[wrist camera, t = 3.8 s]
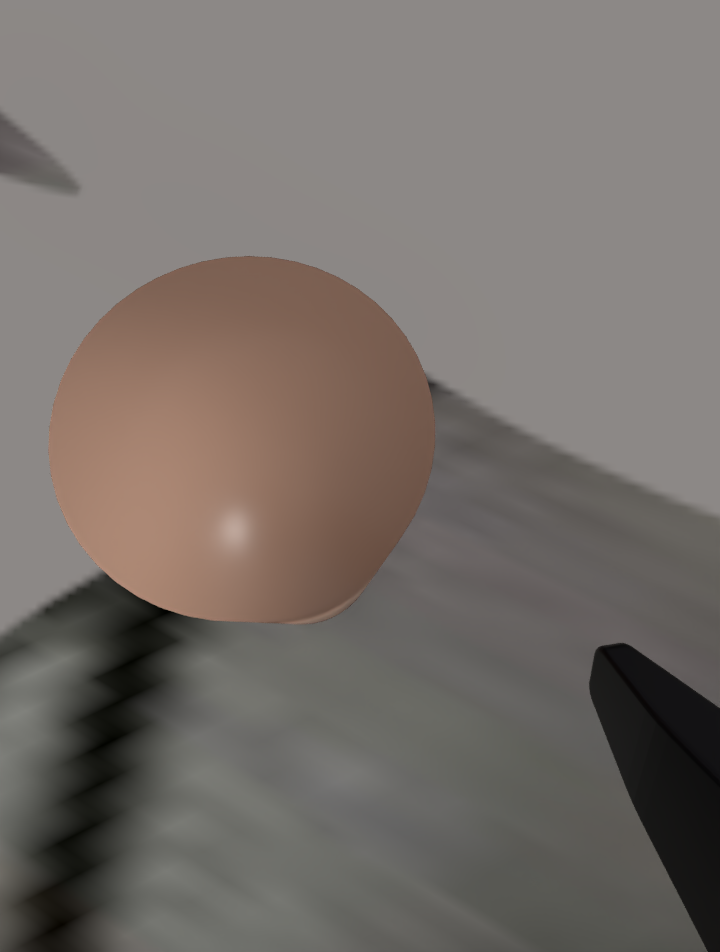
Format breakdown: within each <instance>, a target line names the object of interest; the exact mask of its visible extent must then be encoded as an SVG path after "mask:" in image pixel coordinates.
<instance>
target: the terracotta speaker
mask: <svg viewBox="0 0 720 952" xmlns="http://www.w3.org/2000/svg"><path fill="white" fill-rule="evenodd" d="M434 448H435V418H434V410H433V402H432V397H431V393H430V389H429V386H428V382H427V378H426V375H425V373H424V371H423V368H422V366H421V364H420V361H419V359H418V356H417V355H416V353H415V351H414V349H413V348H412V346H411V345H410V343H409V341H408V339H407V338H406V336H405V335H404V334H403V332H402V331H401V330H400V328H399V327H398V326H397V325H396V323H395V322H394V321H393V319H392V318H391V317H390V316H389V315H388V314H387V313H386V312H385V311H384V310H383V309H382V308H381V307H380V306H379V305H378V304H377V303H376V302H374V301H373V300H372V299H370V298H369V297H368V296H366V295H365V294H364V293H362V292H361V291H360V290H359V289H357V288H356V287H354V286H352V285H350V284H349V283H347V282H345V281H344V280H342V279H340V278H338V277H336V276H334V275H332V274H329V273H327V272H325V271H322V270H320V269H318V268H315V267H311V266H308V265H305V264H301V263H298V262H295V261H289V260H283V259H277V258H271V257H252V256H244V257H228V258H221V259H214V260H209V261H203V262H199V263H196V264H192V265H189V266H186V267H182V268H179V269H177V270H174V271H172V272H170V273H167V274H165V275H162V276H160V277H158V278H156V279H154V280H152V281H151V282H149V283H147V284H145V285H143V286H142V287H140V288H138V289H136V290H135V291H134V292H133V293H131V294H130V295H128V296H127V297H126V298H124V299H123V300H122V301H120V302H119V303H118V304H116V305H115V306H114V307H113V308H112V309H111V310H110V311H109V312H108V313H107V314H106V315H105V316H104V317H102V318H101V319H100V320H99V322H98V323H97V324H96V325H95V326H94V327H93V329H92V330H91V331H90V332H89V333H88V335H87V336H86V337H85V338H84V340H83V341H82V343H81V345H80V346H79V348H78V349H77V351H76V352H75V354H74V355H73V357H72V358H71V361H70V363H69V365H68V367H67V369H66V371H65V373H64V375H63V378H62V380H61V382H60V385H59V388H58V392H57V395H56V398H55V401H54V404H53V410H52V416H51V422H50V428H49V459H50V469H51V477H52V481H53V485H54V488H55V493H56V497H57V500H58V503H59V505H60V507H61V510H62V512H63V515H64V517H65V519H66V522H67V524H68V525H69V527H70V529H71V530H72V532H73V533H74V535H75V537H76V539H77V540H78V542H79V544H80V545H81V546H82V547H83V549H84V550H85V551H86V552H87V553H88V555H89V556H90V557H91V558H92V560H93V561H94V562H95V563H96V564H97V565H98V566H99V567H100V568H101V569H102V570H103V571H104V572H105V573H107V574H108V575H109V576H110V577H111V578H112V579H113V580H114V581H115V582H117V583H118V584H120V585H121V586H123V587H124V588H126V589H127V590H129V591H130V592H132V593H133V594H135V595H136V596H138V597H140V598H142V599H144V600H146V601H148V602H150V603H152V604H154V605H156V606H158V607H161V608H163V609H167V610H170V611H173V612H176V613H179V614H182V615H185V616H190V617H195V618H201V619H207V620H212V621H233V622H257V623H281V624H313V623H317V622H322V621H325V620H327V619H330V618H332V617H334V616H336V615H338V614H340V613H341V612H343V611H344V610H346V609H347V608H348V607H349V606H351V605H352V604H353V603H354V602H355V601H356V600H357V598H358V597H359V596H360V595H361V594H362V592H363V591H364V589H365V588H366V587H367V585H368V584H369V582H370V581H371V579H372V578H373V577H374V575H375V574H376V572H377V571H378V570H379V568H380V567H381V565H382V564H383V562H384V561H385V560H386V558H387V557H388V555H389V554H390V552H391V551H392V550H393V548H394V547H395V545H396V544H397V543H398V541H399V540H400V538H401V537H402V535H403V534H404V532H405V530H406V529H407V527H408V525H409V524H410V522H411V521H412V519H413V517H414V516H415V513H416V511H417V509H418V507H419V504H420V502H421V500H422V498H423V495H424V493H425V490H426V486H427V483H428V479H429V476H430V473H431V469H432V462H433V455H434Z"/></svg>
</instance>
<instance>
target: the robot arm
mask: <svg viewBox="0 0 720 952" xmlns="http://www.w3.org/2000/svg"><path fill="white" fill-rule="evenodd" d="M589 689H590V695H591V699H592V701H593V704H594V707H595V709H596V712H597V714H598V717H599V719H600V722H601V725H602V727H603V730H604V732H605V735H606V737H607V740H608V743H609V745H610V748H611V750H612V753H613V755H614V758H615V760H616V763H617V766H618V768H619V771H620V773H621V776H622V778H623V781H624V784H625V786H626V789H627V791H628V793H629V796H630V798H631V801H632V803H633V805H634V807H635V809H636V811H637V813H638V816H639V818H640V820H641V822H642V824H643V826H644V828H645V830H646V832H647V834H648V835H649V837H650V839H651V841H652V843H653V845H654V847H655V849H656V851H657V853H658V855H659V857H660V859H661V861H662V863H663V865H664V867H665V869H666V871H667V873H668V875H669V877H670V879H671V881H672V883H673V884H674V886H675V888H676V890H677V892H678V894H679V896H680V898H681V900H682V902H683V904H684V906H685V908H686V910H687V912H688V914H689V916H690V918H691V920H692V922H693V924H694V926H695V928H696V930H697V932H698V933H699V935H700V937H701V939H702V941H703V943H704V945H705V947H706V949H707V951H708V952H720V708H719V707H717V706H716V705H715V704H713V703H712V702H710V701H709V700H707V699H706V698H705V697H703V696H702V695H700V694H699V693H697V692H696V691H695V690H693V689H692V688H690V687H689V686H687V685H686V684H684V683H683V682H682V681H680V680H679V679H677V678H676V677H674V676H673V675H672V674H670V673H669V672H667V671H666V670H664V669H663V668H662V667H660V666H659V665H657V664H656V663H654V662H653V661H652V660H650V659H649V658H647V657H646V656H644V655H643V654H642V653H640V652H639V651H637V650H636V649H634V648H633V647H631V646H630V645H628V644H625V643H616V644H610V645H604V646H600V647H598V648H597V650H596V651H595V654H594V660H593V665H592V671H591V676H590V682H589Z"/></svg>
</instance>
